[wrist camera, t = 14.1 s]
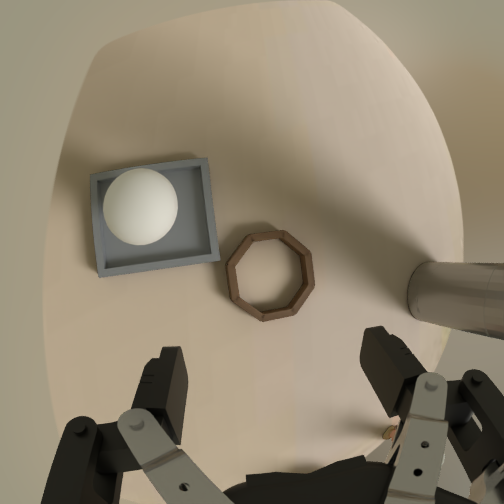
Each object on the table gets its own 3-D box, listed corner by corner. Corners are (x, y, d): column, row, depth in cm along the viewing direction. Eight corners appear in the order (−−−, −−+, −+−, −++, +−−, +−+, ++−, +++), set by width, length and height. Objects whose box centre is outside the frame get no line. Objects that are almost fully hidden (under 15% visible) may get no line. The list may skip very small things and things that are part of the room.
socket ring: (302, 228, 34) (307, 227, 33) (312, 307, 34) (317, 309, 33) (221, 238, 32) (223, 237, 31) (234, 323, 32) (236, 326, 31)
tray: (206, 163, 32) (207, 157, 30) (218, 260, 32) (220, 260, 30) (95, 179, 29) (90, 174, 27) (103, 276, 29) (98, 277, 27)
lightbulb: (147, 179, 29) (130, 142, 19) (191, 213, 30) (194, 190, 20) (113, 225, 29) (78, 209, 18) (156, 259, 30) (141, 261, 19)
